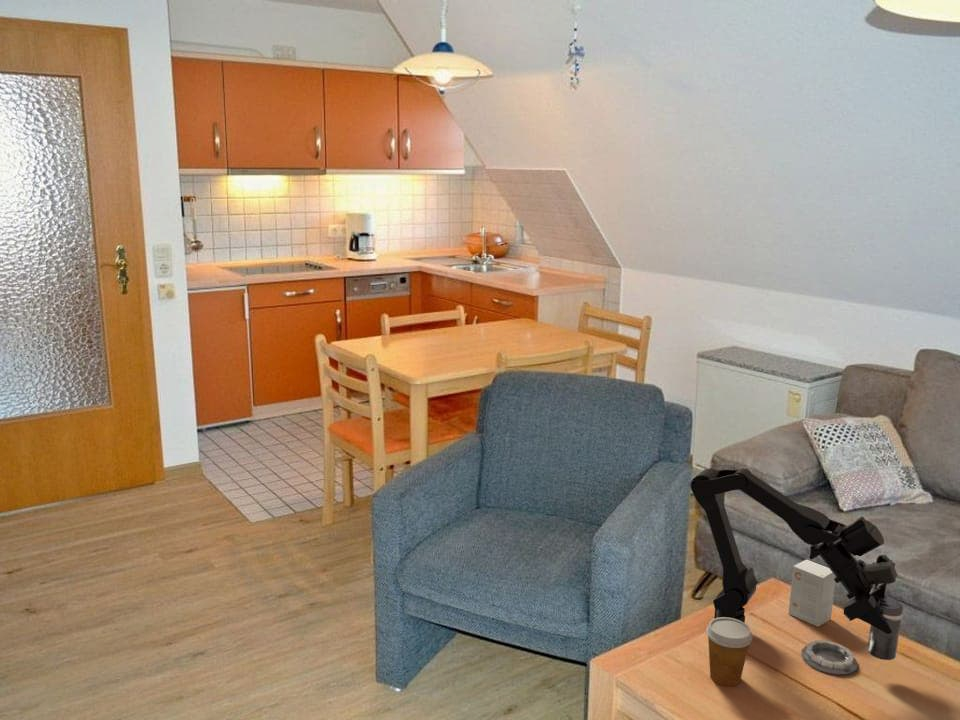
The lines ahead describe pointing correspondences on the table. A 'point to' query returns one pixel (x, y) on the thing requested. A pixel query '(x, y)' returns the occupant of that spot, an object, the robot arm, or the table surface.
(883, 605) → the lens
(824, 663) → the mount ring
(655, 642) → the table surface
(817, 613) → the small box
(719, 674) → the disposable coffee cup
